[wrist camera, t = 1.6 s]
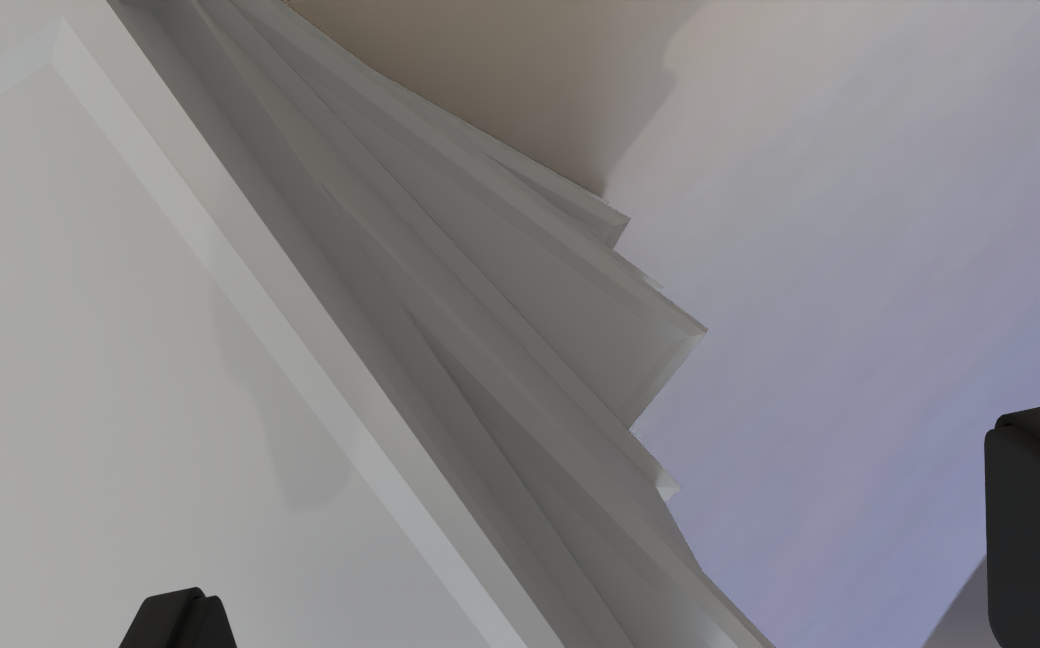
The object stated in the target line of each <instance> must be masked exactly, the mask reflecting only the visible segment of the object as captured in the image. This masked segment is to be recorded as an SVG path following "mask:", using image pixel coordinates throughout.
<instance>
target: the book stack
mask: <svg viewBox="0 0 1040 648" xmlns="http://www.w3.org/2000/svg"><path fill="white" fill-rule="evenodd" d="M608 203H609V202H607V201H605V200H603V199H602V198H600V197H598V196H596V195H595V194H593V193H591V192H589V191H587V190H586V189H584V188H582V187H580V186H579V185H577V184H575V183H573V182H572V181H570V180H568V179H566V178H564V177H563V176H561V175H559V174H557V173H556V172H554V171H552V170H550V169H549V168H547V167H545V166H543V165H542V164H540V163H538V162H536V161H534V160H533V159H531V158H529V157H527V156H526V155H524V154H522V153H520V152H519V151H517V150H515V149H513V148H511V147H510V146H508V145H506V144H504V143H503V142H501V141H499V140H497V139H496V138H494V137H492V136H490V135H488V134H487V133H485V132H483V131H481V130H480V129H478V128H476V127H474V126H473V125H471V124H469V123H467V122H466V121H464V120H462V119H460V118H458V117H457V116H455V115H453V114H451V113H450V112H448V111H446V110H444V109H443V108H441V107H439V106H437V105H435V104H434V103H432V102H430V101H428V100H427V99H425V98H423V97H421V96H420V95H418V94H416V93H414V92H412V91H411V90H409V89H407V88H405V87H404V86H402V85H400V84H398V83H397V82H395V81H393V80H391V79H390V78H388V77H386V76H384V75H382V74H381V73H379V72H377V71H375V70H374V69H372V68H370V67H369V66H367V65H366V64H365V63H363V62H362V61H361V60H359V59H358V58H357V57H355V56H354V55H353V54H351V53H350V52H349V51H347V50H346V49H345V48H343V47H342V46H341V45H339V44H338V43H337V42H335V41H334V40H333V39H331V38H330V37H329V36H327V35H326V34H325V33H323V32H322V31H321V30H319V29H318V28H317V27H315V26H314V25H313V24H311V23H310V22H309V21H307V20H306V19H305V18H303V17H302V16H301V15H299V14H298V13H297V12H295V11H294V10H293V9H291V8H290V7H289V6H287V5H286V4H285V3H283V2H282V1H281V0H0V648H119V646H120V644H121V642H122V640H123V638H124V637H125V635H126V633H127V631H128V629H129V627H130V625H131V623H132V622H133V620H134V618H135V616H136V614H137V612H138V610H139V608H140V606H141V605H142V603H143V601H144V600H145V599H146V598H147V597H150V596H154V595H159V594H164V593H168V592H173V591H178V590H183V589H187V588H192V587H198V588H200V589H201V590H202V591H203V593H204V594H205V596H206V597H209V596H214V595H216V596H218V597H219V598H220V600H221V601H222V603H223V606H224V608H225V611H226V614H227V618H228V621H229V624H230V627H231V630H232V633H233V636H234V639H235V642H236V645H237V648H776V647H775V646H774V645H773V644H772V643H771V642H770V641H769V640H768V639H767V638H766V637H765V636H764V635H763V634H762V633H761V632H760V631H759V630H758V629H757V628H756V627H755V626H754V625H753V623H752V622H751V621H750V620H749V619H748V618H747V617H746V616H745V615H744V614H743V613H742V612H741V611H740V610H739V609H738V608H737V607H736V606H735V605H734V604H733V603H732V602H731V601H730V600H729V598H728V597H727V596H726V595H725V594H724V593H723V592H722V591H721V590H720V589H719V588H718V587H717V586H716V585H715V584H714V583H713V582H712V581H711V580H710V579H709V578H708V577H707V576H706V574H705V573H704V572H703V571H702V570H701V568H700V566H699V564H698V562H697V561H696V559H695V557H694V555H693V553H692V551H691V550H690V548H689V546H688V544H687V542H686V541H685V539H684V537H683V535H682V533H681V531H680V530H679V528H678V526H677V524H676V522H675V521H674V519H673V517H672V515H671V513H670V512H669V510H668V508H667V506H666V504H665V502H666V501H667V500H668V499H669V498H671V497H672V496H673V495H674V494H675V493H677V492H678V491H679V490H680V489H681V488H682V487H681V486H680V485H679V484H678V483H677V482H676V481H675V480H674V479H673V478H672V477H671V476H670V475H669V473H668V472H667V471H666V470H665V469H664V468H663V467H662V466H661V465H660V464H659V463H658V462H657V460H656V459H655V458H654V457H653V456H652V455H651V454H650V453H649V452H648V451H647V450H646V449H645V447H644V446H643V445H642V444H641V443H640V442H639V441H638V440H637V439H636V438H635V437H634V436H633V435H632V433H631V432H630V431H629V430H628V429H629V428H630V427H631V426H632V424H633V423H634V422H635V421H636V419H637V418H638V417H639V416H640V415H641V413H642V412H643V411H644V410H645V408H646V407H647V406H648V405H649V403H650V402H651V401H652V400H653V398H654V397H655V396H656V395H657V394H658V392H659V391H660V390H661V389H662V387H663V386H664V385H665V384H666V382H667V381H668V380H669V379H670V377H671V376H672V375H673V374H674V373H675V371H676V370H677V369H678V368H679V366H680V365H681V364H682V363H683V361H684V360H685V359H686V358H687V356H688V355H689V354H690V353H691V352H692V350H693V349H694V348H695V347H696V345H697V344H698V343H699V342H700V340H701V339H702V338H703V337H704V335H705V334H706V333H707V330H708V329H707V328H706V327H705V326H703V325H702V324H701V323H699V322H698V321H697V320H695V319H694V318H693V317H691V316H690V315H689V314H687V313H686V312H685V311H683V310H682V309H681V308H679V307H678V306H677V305H675V304H674V303H673V302H671V301H670V300H669V299H667V298H666V297H665V296H663V295H662V294H661V293H659V292H660V291H661V290H662V288H663V287H662V286H660V285H659V284H658V283H656V282H655V281H654V280H652V279H651V278H650V277H648V276H647V275H646V274H644V273H643V272H642V271H640V270H639V269H638V268H636V267H635V266H634V265H632V264H631V263H630V262H628V261H627V260H626V259H624V258H623V257H622V256H620V255H619V254H618V253H616V252H615V251H614V250H612V249H613V248H614V246H615V244H616V243H617V241H618V239H619V237H620V236H621V234H622V232H623V231H624V229H625V227H626V226H627V224H628V222H629V220H630V219H631V218H629V217H627V216H625V215H624V214H622V213H620V212H618V211H617V210H615V209H613V208H611V207H609V206H608Z"/></svg>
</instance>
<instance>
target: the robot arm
mask: <svg viewBox="0 0 1040 648" xmlns="http://www.w3.org/2000/svg"><path fill="white" fill-rule="evenodd" d="M984 453H985V496H986V538H987V579H988V615H989V622H990V626H991V629H992V631H993V634H994V636H995V638H996V640H997V641H998V643H999V645H1000V646H1001V647H1002V648H1040V407H1037V408H1033V409H1028V410H1023V411H1019V412H1014V413H1009V414H1005V415H1002V416H1001V417H999V418H998V420H997V422H996V424H995V429H991V430H989V431H988V432H987V434H986V436H985V442H984ZM119 648H237V645H236V642H235V639H234V636H233V633H232V630H231V627H230V624H229V621H228V618H227V614H226V611H225V608H224V606H223V603H222V601H221V600H220V598H219V597H218V596H216V595H214V596H209V597H206V596H205V594H204V593H203V591H202V590H201V589H200V588H198V587H192V588H187V589H183V590H178V591H173V592H168V593H164V594H159V595H154V596H150V597H147V598H146V599H145V600H144V601H143V603H142V605H141V606H140V608H139V610H138V612H137V614H136V616H135V618H134V620H133V622H132V623H131V625H130V627H129V629H128V631H127V633H126V635H125V637H124V638H123V640H122V642H121V644H120V646H119Z"/></svg>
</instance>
